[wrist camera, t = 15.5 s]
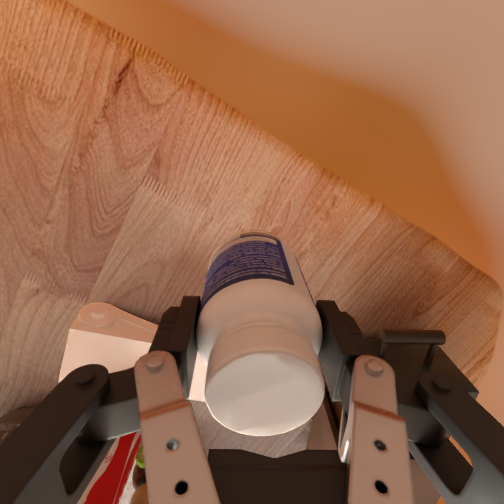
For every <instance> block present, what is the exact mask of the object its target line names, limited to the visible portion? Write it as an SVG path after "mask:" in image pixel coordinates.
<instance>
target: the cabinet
mask: <svg viewBox="0 0 504 504" xmlns="http://www.w3.org/2000/svg"><path fill="white" fill-rule="evenodd" d="M328 398H329V390H328V387H325V393H324V399H323V401H322V404H321V406H320V408H319V409H318V411H317V412H316V413H315V414H314V416H313V418H312V423H311V429H310V434H309V439H308V444H307V450H338V443H339V433H338V430H337V427H336V424H335V421H334V417H333V414H332V411H331V408H330V405H329V402H328ZM409 456H410V464H411V473H412V482H413V490H414V499H415V504H437V502H438V500H439V498H440V496H441V495H440V494H439V492H438V491H437V490H436V488H435V487H434V485H433V484H432V483H431V481H430V480H429V478H428V477H427V475H426V474H425V473H424V471H423V470H422V468H421V467H420V465H419V464H418V463H417V461H416V460H415V458H414V457H413V456H412V454H411V453H409Z"/></svg>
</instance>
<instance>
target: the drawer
mask: <svg viewBox="0 0 504 504" xmlns="http://www.w3.org/2000/svg"><path fill="white" fill-rule="evenodd" d="M365 339H366V341H367V343H368V344H369V346H370V348H371V350H372V352H373V353H374V355H375V356H376V357H378V358H381V359H382V360H384V361H385V362H387V363H388V364H389V365H390V366H391V367H392V369H393V371H394V373H396V374H399V375H402V376H406V377H409V378H413V379H417V380H418V378H419V375H420V374H421V373H422V372H424V371H436V372H439V373H442V374H444V375H446V376H448V377H450V378H451V379H453V380H454V381H455V382H457V383H458V384H459V385H460V386H461V387H462V388H463V389H464V390H465V391H466V392H467V393H468V394H469V395H470V396H471V397H473V398H474V399H476V398H477V395H478V393H479V391H478V390H477V389H476V388H475V387H474V386H473V384H472V383H471V382H470V381H469V380H468V379H467V378H466V377H465V375H464V374H463V373H462V372H461V371H460V370H459V369H458V368H457V366H456V365H455V364H454V363H453V362H452V361H451V360H450V358H449V357H448V356H447V355H446V354H445V353H444V352H443V351H442V349H441V348H440V347H439V346H438V345H443V344H444V343H445V342H446V336H445V334H444V332H443V331H441V330H393V329H381V330H380V331H379V338H365ZM328 402H329V405H330V408H331V411H332V414H333V417H334V421H335V424H336V427H337V430H338V433H340V424H341V414H342V410H343V404H342V401H332V399H331V396H330V393H329V398H328ZM446 437H447V438H448V439H449V437H450V434H449V433H448V434H447V436H446ZM409 453H410V451H409Z"/></svg>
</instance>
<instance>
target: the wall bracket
mask: <svg viewBox="0 0 504 504" xmlns="http://www.w3.org/2000/svg"><path fill="white" fill-rule="evenodd" d="M158 326H159V325H156V324H154V323H151V322H148V321H146V320H143V319H141V318H139V317H136V316H134V315H132V314H129V313H127V312H125V311H123V310H121V309H119V308H117V307H115V306H113V305H111V304H108V303H102V302H95V303H90V304H87V305H85V306H83V307H82V308H81V309H80V310H79V313H78V316H77V318H76V319H75V321H74V323H72V325H71V327H70V329H69V334H68V339H67V343H66V348H65V352H64V357H63V361H62V366H61V370H60V375H59V380H58V383H60V382H61V381H62V380H63V379H64V378H65V377H66V376H67V375H68V374H69V373H70V372H72V371H73V370H75V369H76V368H79V367H81V366H84V365H88V364H100V365H103V366H105V367H106V368H107V369H108V372H109V373H113V372H117V371H122V370H126V369H129V368H132V367H134V366H135V363H136V361H137V360H138V359H139V358H140V357H141V356H143V355H145V354H147V353H148V351H149V349H150V346H151V344H152V341H153V339H154V336H155V333H156V331H157V329H158ZM206 374H207V366H206V365H205V363H204V362H203V360H202V358H201V356H200V354H199V351H197V356H196V362H195V367H194V372H193V378H192V383H191V388H190V394H189V400H196V401H204V402H206V401H205V382H206Z"/></svg>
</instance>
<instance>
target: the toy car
mask: <svg viewBox="0 0 504 504" xmlns="http://www.w3.org/2000/svg"><path fill="white" fill-rule="evenodd" d="M133 487H134V488H135V490H136V491H135V493H134V494H133V496H132V499H131V502H130V504H149V500H148V492H147V483H146V474H145V465H144V456H143V447H142V446H141V447H140V448H139V450H138V452H137V455H136V465H135V468H134V471H133Z"/></svg>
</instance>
